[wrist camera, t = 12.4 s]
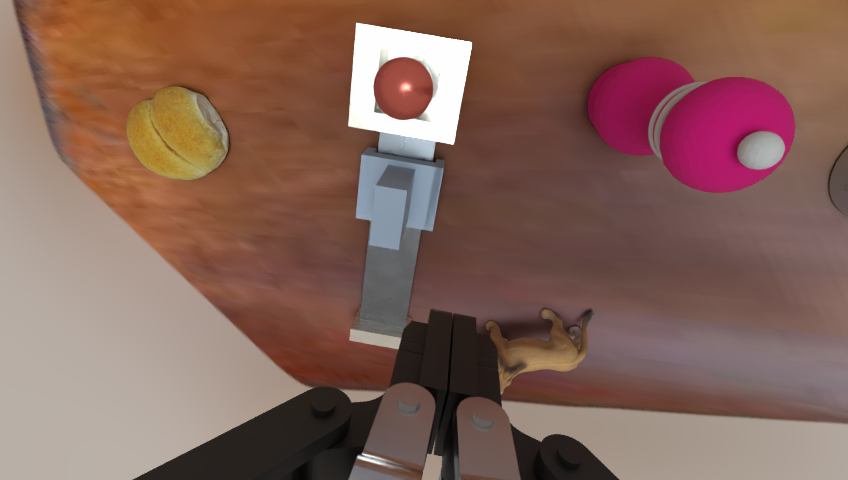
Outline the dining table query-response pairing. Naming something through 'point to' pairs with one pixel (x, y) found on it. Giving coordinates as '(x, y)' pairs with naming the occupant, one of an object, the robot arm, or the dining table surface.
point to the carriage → (397, 195)
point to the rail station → (403, 138)
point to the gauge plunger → (403, 88)
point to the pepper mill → (693, 122)
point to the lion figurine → (540, 349)
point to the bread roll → (177, 134)
